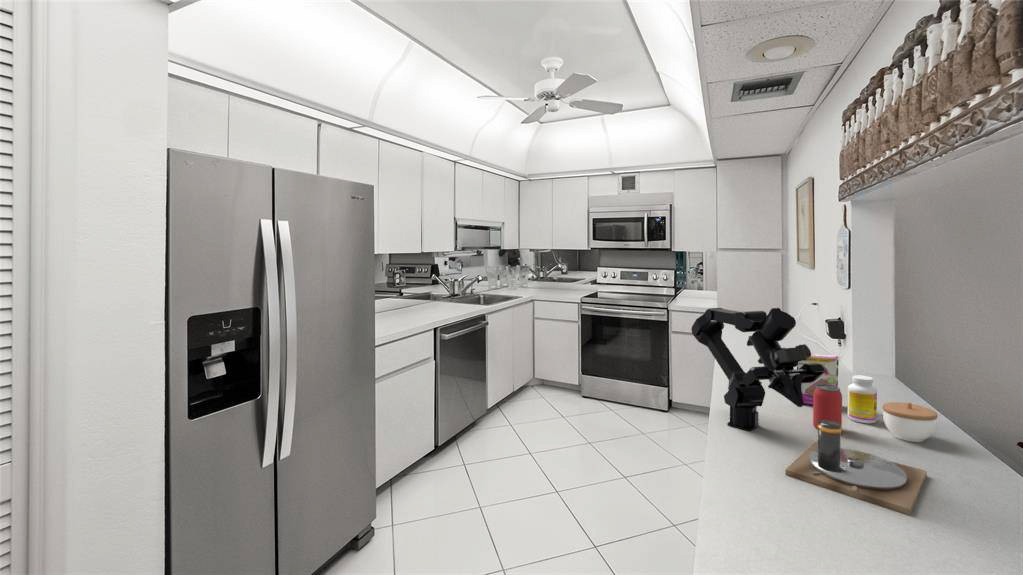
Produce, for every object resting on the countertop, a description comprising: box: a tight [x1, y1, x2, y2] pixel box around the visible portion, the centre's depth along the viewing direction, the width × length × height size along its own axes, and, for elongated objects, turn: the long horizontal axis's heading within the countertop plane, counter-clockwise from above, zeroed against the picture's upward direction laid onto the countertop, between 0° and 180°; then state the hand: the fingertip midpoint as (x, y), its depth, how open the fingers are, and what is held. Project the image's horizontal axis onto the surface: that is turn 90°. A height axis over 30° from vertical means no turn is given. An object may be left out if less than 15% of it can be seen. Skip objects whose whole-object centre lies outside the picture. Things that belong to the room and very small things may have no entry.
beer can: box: [812, 384, 843, 431], centre depth 121 cm, size 7×7×12 cm
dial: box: [809, 420, 907, 491], centre depth 96 cm, size 17×17×11 cm
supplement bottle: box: [847, 374, 878, 424], centre depth 126 cm, size 7×7×13 cm
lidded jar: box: [882, 401, 939, 443], centre depth 114 cm, size 11×11×9 cm
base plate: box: [785, 441, 928, 516], centre depth 96 cm, size 21×21×2 cm
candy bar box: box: [795, 353, 840, 406], centre depth 140 cm, size 11×5×16 cm, turn 58°
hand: (801, 406), depth 103 cm, fingers closed
